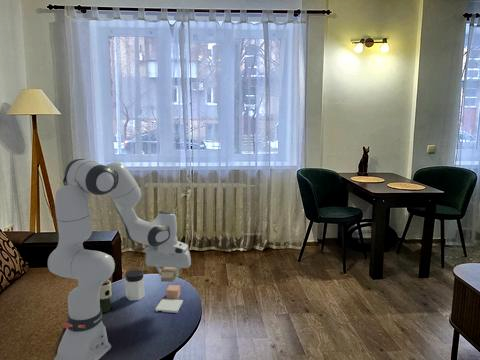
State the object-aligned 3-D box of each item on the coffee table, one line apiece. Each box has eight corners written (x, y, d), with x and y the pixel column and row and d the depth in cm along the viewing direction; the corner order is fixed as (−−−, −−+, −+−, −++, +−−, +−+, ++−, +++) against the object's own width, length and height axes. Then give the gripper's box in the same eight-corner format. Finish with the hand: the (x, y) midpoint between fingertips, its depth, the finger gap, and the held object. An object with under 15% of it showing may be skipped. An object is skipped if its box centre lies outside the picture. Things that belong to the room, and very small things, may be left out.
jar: (147, 298, 195) (146, 274, 193) (130, 302, 190) (129, 278, 188) (140, 290, 202) (139, 268, 200) (123, 295, 198) (122, 271, 195)
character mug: (105, 317, 178) (104, 289, 175) (90, 315, 179) (88, 287, 176) (117, 304, 188) (115, 278, 186) (103, 303, 190) (101, 277, 187)
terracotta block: (177, 299, 194) (177, 290, 193) (166, 298, 194) (166, 290, 194) (180, 294, 199) (180, 285, 198) (169, 293, 200) (169, 284, 199)
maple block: (173, 282, 181) (172, 272, 181) (161, 281, 182) (160, 271, 181) (176, 276, 187) (176, 267, 186) (164, 276, 188) (164, 266, 187)
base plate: (177, 312, 181) (177, 310, 181) (155, 311, 183) (155, 309, 183) (183, 302, 191) (182, 300, 191) (162, 300, 192) (162, 298, 192)
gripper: (142, 247, 180) (143, 277, 182) (188, 250, 177) (188, 280, 180) (147, 242, 186) (148, 271, 188) (191, 245, 183) (192, 273, 186)
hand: (168, 275), depth 184 cm, fingers closed on maple block, 5 cm apart
